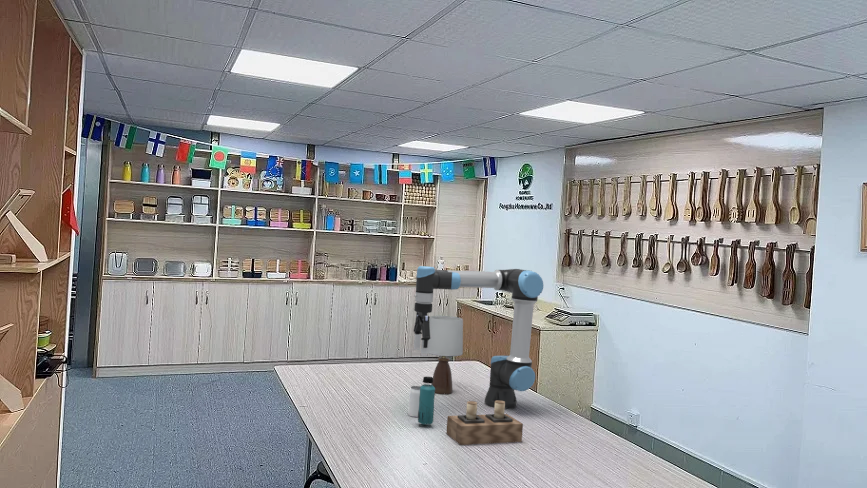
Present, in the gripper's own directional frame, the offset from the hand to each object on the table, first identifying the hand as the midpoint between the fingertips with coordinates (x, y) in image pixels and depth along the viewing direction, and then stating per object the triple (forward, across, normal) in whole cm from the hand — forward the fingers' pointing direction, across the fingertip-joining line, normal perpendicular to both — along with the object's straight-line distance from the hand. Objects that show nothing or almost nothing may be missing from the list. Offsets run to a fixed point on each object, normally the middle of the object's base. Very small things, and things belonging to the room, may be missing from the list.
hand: (420, 352), depth 279 cm
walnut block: (+28, +29, +21) cm, 45 cm away
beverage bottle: (+28, +13, +1) cm, 31 cm away
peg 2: (+21, +28, +27) cm, 44 cm away
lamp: (+28, -44, +23) cm, 57 cm away
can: (+28, -2, 0) cm, 28 cm away
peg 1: (+21, +29, +15) cm, 39 cm away
